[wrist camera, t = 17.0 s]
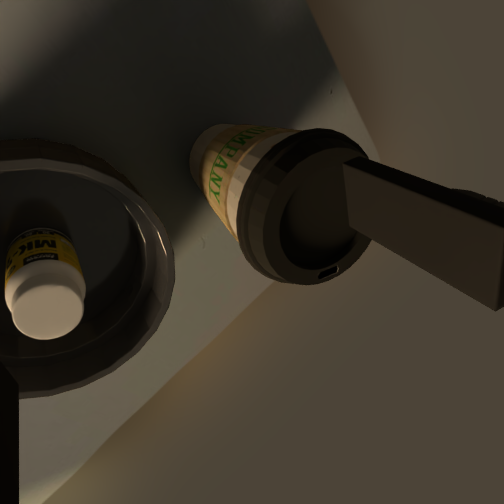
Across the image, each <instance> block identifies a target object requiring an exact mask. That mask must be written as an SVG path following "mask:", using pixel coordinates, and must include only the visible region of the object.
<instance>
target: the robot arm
mask: <svg viewBox="0 0 504 504" xmlns="http://www.w3.org/2000/svg"><path fill="white" fill-rule="evenodd" d="M343 172H344V181H345V190H346V199H347V209H348V218H349V226H350V227H352V228H353V229H355V230H357V231H358V232H360V233H362V234H364V235H365V236H367V237H369V238H370V239H372V240H374V241H376V242H377V243H379V244H381V245H383V246H384V247H386V248H388V249H389V250H391V251H393V252H394V253H396V254H398V255H400V256H402V257H403V258H405V259H406V260H408V261H410V262H412V263H413V264H415V265H417V266H419V267H420V268H422V269H424V270H425V271H427V272H429V273H430V274H432V275H434V276H436V277H437V278H439V279H441V280H443V281H444V282H446V283H448V284H450V285H451V286H453V287H455V288H456V289H458V290H460V291H461V292H463V293H465V294H466V295H468V296H470V297H472V298H473V299H475V300H477V301H479V302H480V303H482V304H484V305H485V306H487V307H489V308H491V309H492V310H494V311H497V310H499V309H501V308H502V307H504V202H501V201H500V202H498V201H497V200H495V199H493V198H489V197H487V198H486V197H485V196H484V195H481V194H478V193H475V192H472V191H468V190H460V189H450V188H447V187H444V186H441V185H438V184H436V183H433V182H430V181H427V180H425V179H421V178H419V177H416V176H414V175H411V174H408V173H405V172H402V171H400V170H397V169H394V168H391V167H389V166H386V165H383V164H380V163H378V162H375V161H372V160H369V159H366V158H364V157H361V156H358V157H355V158H353V159H351V160H348V161H346V162H344V163H343ZM0 504H19V384H18V383H17V381H16V380H15V379H14V378H13V376H12V375H11V374H10V372H9V371H8V370H7V369H6V367H5V366H4V365H3V363H2V362H1V361H0Z"/></svg>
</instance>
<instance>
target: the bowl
mask: <svg viewBox="0 0 504 504" xmlns="http://www.w3.org/2000/svg"><path fill="white" fill-rule="evenodd" d="M34 228H50V229H54V230H57V231H59V232H61V233H63V234H64V235H65V236H67V237H68V238H69V239H70V240H71V242H72V243H73V245H74V247H75V250H76V254H77V257H78V260H79V264H80V267H81V271H82V274H83V278H84V281H85V286H86V292H85V298H84V301H83V302H84V313H83V316H82V319H81V320H80V322H79V324H78V325H77V326H76V327H75V328H74V329H73V330H71V331H70V332H69V333H67V334H65V335H63V336H60V337H57V338H53V339H35V338H32V337H29V336H27V335H25V334H23V333H22V332H21V331H19V330H18V328H17V327H16V326H15V324H14V322H13V319H12V312H11V311H10V310H9V308H8V306H7V303H6V300H5V274H6V254H7V250H8V247H9V245H10V244H11V242H12V241H13V240H14V239H15V238H16V237H17V236H18V235H20V234H21V233H23V232H25V231H27V230H30V229H34ZM174 283H175V264H174V251H173V249H172V246H171V243H170V240H169V237H168V235H167V232H166V229H165V226H164V224H163V223H162V222H161V220H160V219H159V218H158V216H157V215H156V214H155V212H154V211H153V209H152V208H151V207H150V205H149V204H148V203H147V201H146V200H145V199H144V198H143V197H142V195H141V194H140V193H139V192H138V191H137V189H136V188H135V187H134V186H133V185H132V183H131V182H130V181H129V180H128V179H127V178H126V177H125V176H124V175H123V174H122V173H120V172H119V171H118V170H117V169H115V168H114V167H113V166H112V165H110V164H109V163H108V162H106V161H105V160H104V159H102V158H100V157H98V156H96V155H94V154H91V153H89V152H87V151H85V150H82V149H80V148H78V147H76V146H74V145H71V144H65V143H60V142H54V141H49V140H44V139H38V138H37V139H36V138H30V139H11V140H0V361H1V362H2V363H3V365H4V366H5V367H6V369H7V370H8V371H9V372H10V374H11V375H12V376H13V378H14V379H15V380H16V381H17V383H18V384H19V399H26V398H36V397H47V396H53V395H56V394H59V393H63V392H66V391H70V390H73V389H77V388H80V387H83V386H86V385H88V384H90V383H92V382H94V381H96V380H98V379H100V378H102V377H104V376H106V375H108V374H110V373H112V372H113V371H115V370H116V369H117V368H118V367H120V366H121V365H122V364H124V363H125V362H126V361H128V360H129V359H130V358H132V357H133V356H134V355H136V354H137V353H138V352H139V350H140V349H141V348H142V347H143V346H144V345H145V343H146V342H147V341H148V340H149V339H150V338H151V337H152V335H153V334H154V333H155V332H156V331H157V329H158V327H159V325H160V323H161V321H162V319H163V317H164V315H165V314H166V312H167V310H168V308H169V304H170V300H171V296H172V292H173V287H174Z"/></svg>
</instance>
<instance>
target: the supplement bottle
mask: <svg viewBox="0 0 504 504" xmlns="http://www.w3.org/2000/svg"><path fill="white" fill-rule="evenodd" d="M85 292H86V286H85V281H84V278H83V274H82V271H81V267H80V264H79V260H78V257H77V254H76V250H75V247H74V245H73V243H72V242H71V240H70V239H69V238H68V237H67V236H65V235H64V234H63V233H61V232H59V231H57V230H54V229H50V228H34V229H30V230H27V231H25V232H23V233H21V234H20V235H18V236H17V237H16V238H15V239H14V240H13V241H12V242H11V244H10V245H9V247H8V250H7V254H6V274H5V300H6V303H7V306H8V308H9V310H10V311H11V312H12V319H13V322H14V324H15V326H16V327H17V328H18V330H19V331H21V332H22V333H23V334H25V335H27V336H29V337H32V338H35V339H53V338H57V337H60V336H63V335H65V334H67V333H69V332H70V331H71V330H73V329H74V328H75V327H76V326H77V325H78V324H79V322H80V320H81V319H82V316H83V313H84V302H83V301H84V298H85Z"/></svg>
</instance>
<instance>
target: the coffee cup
mask: <svg viewBox="0 0 504 504" xmlns="http://www.w3.org/2000/svg"><path fill="white" fill-rule="evenodd" d="M358 156H361V157H364V158H366V159H369V158H368V156H367V154H366V153H365V152H364V151H363V150H362V148H361V147H360V146H359V145H358V144H357V143H356V142H354V141H353V140H352V139H350V138H349V137H347V136H346V135H344V134H342V133H340V132H337V131H334V130H332V129H322V128H316V129H309V130H303V131H302V130H293V129H284V128H275V127H266V126H257V125H247V124H242V125H234V124H218V125H215V126H212V127H210V128H208V129H207V130H205V131H204V132H203V133H202V134H201V135H200V136H199V137H198V138H197V140H196V141H195V143H194V145H193V147H192V150H191V153H190V161H189V164H190V171H191V175H192V177H193V179H194V181H195V183H196V184H197V185H198V186H199V188H200V189H201V191H202V193H203V195H204V197H205V199H206V200H207V201H208V203H209V204H210V206H211V207H212V208H213V210H214V211H215V212H216V214H217V215H218V216H219V218H220V219H221V220H222V222H223V223H224V224H225V226H226V227H227V228H228V230H229V231H230V232H231V234H232V235H233V236H234V238H235V239H236V240H237V241H238V242H239V245H240V248H241V250H242V252H243V254H244V256H245V258H246V260H247V261H248V262H249V263H250V264H251V266H252V267H253V268H254V269H255V270H257V271H258V272H260V273H261V274H263V275H264V276H266V277H268V278H270V279H273V280H276V281H279V282H283V283H292V284H299V285H314V284H319V283H323V282H325V281H329V280H331V279H333V278H334V277H337V276H338V275H340V274H341V273H343V272H344V271H346V270H347V269H348V268H350V267H351V266H352V265H353V264H354V263H355V262H356V261H357V260H358V259H359V257H360V256H361V255H362V253H363V252H364V251H365V250H366V248H367V247H368V245H369V244H370V242H371V240H372V239H370V238H369V237H367V236H365V235H364V234H362V233H360V232H358V231H357V230H355V229H353V228H352V227H350V226H349V218H348V209H347V199H346V190H345V181H344V172H343V163H344V162H346V161H348V160H351V159H353V158H355V157H358Z"/></svg>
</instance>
